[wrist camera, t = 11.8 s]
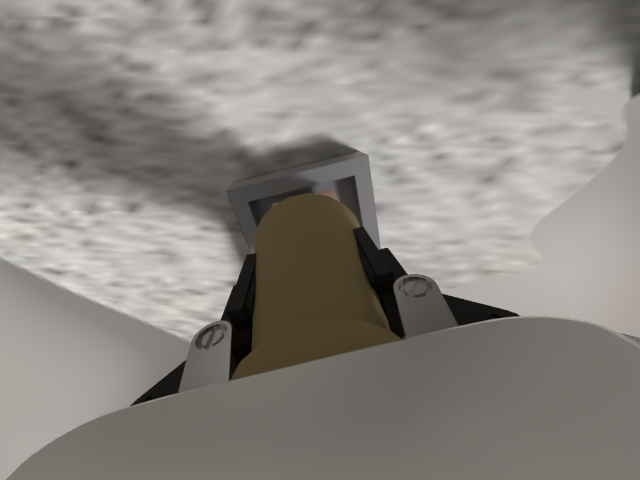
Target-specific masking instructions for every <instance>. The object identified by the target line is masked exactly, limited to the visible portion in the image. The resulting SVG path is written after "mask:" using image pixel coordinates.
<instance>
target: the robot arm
mask: <svg viewBox="0 0 640 480" xmlns="http://www.w3.org/2000/svg"><path fill="white" fill-rule="evenodd" d="M353 232H354V234H355V237H356V241H357V247H358V253H359V256H360V258H361V261H362V263H363V266H364V268H365V271H366V273H367V276H368V278H369V281H370V283H371V286H372V288H374V289H375V290H376V292H377V294H378V296H379V298H380V300H381V303H382V306H383V308H384V311H385V314H386V317H387V320H388V324H389V327H390V331H392V332H393V333H395V334H396V335H397V336H398V337H400V338H401V339H400V340H396V341H392V342H387V343H383V344H379V345H375V346H370V347H366V348H362V349H358V350H354V351H350V352H346V353H342V354H338V355H334V356H330V357H325V358H321V359H317V360H313V361H309V362H305V363H301V364H297V365H293V366H288V367H284V368H280V369H275V370H271V371H267V372H262V373H258V374H254V375H250V376H246V377H242V378H238V379H234V380H231V378H232V376H233V374H234V373H235V371H236V369H237V367H238V365H239V363H240V362H241V361H242V360H243V359H244V358H245V357H246V356H247V355H248V354H250V353H251V352H252V322H253V309H254V299H255V289H256V268H255V265H256V253H253V254H249V255H247V256H246V259H245V261H244V264H243V267H242V270H241V273H240V275H239V278H238V281H237V284H236V285H234V287H233V289H232V291H231V294H230V297H229V299H228V302H227V305H226V307H225V310H224V313H223V315H222V318H221V321H216V322H213V323H211V324H209V325H207V326H205V327H204V328H202V329H201V330H200V331H199V332H198V333H197V334H196V335H195V336H194V338H193V339H192V341H191V344H190V347H189V352H188V356H187V359H186V360H185V361H184V362H183V363H182V364H181V365H179V366H178V367H177V368H176V369H174V370H173V371H172V372H170V373H169V374H168V375H167V376H166V377H164V378H163V379H162V380H161V381H159V382H158V383H157V384H156V385H154V386H153V387H152V388H151V389H149V390H148V391H147V392H146V393H144V394H143V395H142V396H141V397H140V398H138V399H137V400H136V401H135V402H134V403H133V404H132V405H131V406H129V407H125V408H122V409H119V410H117V411H114V412H111V413H108V414H105V415H103V416H100V417H98V418H96V419H94V420H92V421H89V422H87V423H85V424H83V425H80V426H78V427H77V428H75V429H73V430H72V431H69V432H68V433H66V434H64V435H62V436H60V437H59V438H57V439H55V440H54V441H53V442H51V443H49V444H47V445H46V446H44V447H43V448H42V449H40V450H39V451H37V452H36V453H34V454H33V455H32V456H31V457H29V458H28V459H27V460H26V461H24V462H23V463H22V464H21V465H20V466H19V467H18V468H17V469H16V470H15V471H14V472H13V473H12V474H11V475H10V476H9V477H8V478H7V479H6V480H640V338H638V337H634V336H630V335H626V334H621V333H618V332H616V331H614V330H611V329H609V328H606V327H604V326H601V325H598V324H594V323H591V322H587V321H582V320H577V319H570V318H562V317H549V316H519V315H518V314H516V313H513V312H510V311H507V310H503V309H500V308H496V307H492V306H488V305H484V304H480V303H476V302H472V301H468V300H464V299H461V298H457V297H453V296H448V295H445V294H442V293H441V291H440V289H439V287H438V285H437V284H436V282H435V281H434V280H433V279H431V278H430V277H427V276H424V275H419V274H409V275H408V274H407V273H406V272H405V270H404V269H403V268H402V266H401V265H400V263H399V262H398V261H397V259H396V258H395V257H394V255H393V254H392V253H391V251H390V250H389V249H388V248H384V249H380V250H379V249H378V248H377V246H376V245H375V243H374V242H373V240H372V239H371V237H370V236H369V234H368V233H367V231H366V230H365V228H364V227H359V228H355V229H353Z"/></svg>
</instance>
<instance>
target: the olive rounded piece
mask: <svg viewBox="0 0 640 480" xmlns="http://www.w3.org/2000/svg"><path fill="white" fill-rule="evenodd" d="M359 227H360V225H359V223H358V221H357V219H356V217H355V214H353V213H352V212H351V211H350V210H349V209H348V208H347V207H346V206H345V205H344V204H343V203H342V202H340V201H337V200H335V199H333V198H331V197H329V196H327V195H319V194H311V193H306V194H301V195H296V196H291V197H288V198H286V199H284V200H283V201H281V202H279V203H277V204H275V205H274V206H273V207H272V208H271V209H270V210H269V211H268V212H267V213H266V214H265V215H264V216H263V217H262V219H261V221H260V223H259V226H258V228H257V231H256V233H255V249H254V253H256V265H255V268H256V289H255V299H254V309H253V322H252V352H251V353H250V354H248V355H247V356H246V357H245V358H244V359H243V360H242V361H241V362H240V363H239V365H238V367H237V369H236V371H235V373H234V374H233V376H232V378H231V380H234V379H238V378H242V377H246V376H250V375H254V374H258V373H262V372H267V371H271V370H275V369H280V368H284V367H288V366H293V365H297V364H301V363H305V362H309V361H313V360H317V359H321V358H325V357H330V356H334V355H338V354H342V353H346V352H350V351H354V350H358V349H362V348H366V347H370V346H375V345H379V344H383V343H387V342H392V341H396V340H400V339H401V338H400V337H398V336H397V335H396V334H395V333H393V332H392V331H390V327H389V324H388V320H387V317H386V314H385V311H384V308H383V306H382V303H381V300H380V298H379V296H378V294H377V292H376V290H375V289H374V288H372V286H371V283H370V281H369V278H368V276H367V273H366V271H365V268H364V266H363V263H362V261H361V258H360V256H359V253H358V247H357V241H356V237H355V234H354V232H353V229H355V228H359Z"/></svg>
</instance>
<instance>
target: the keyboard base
mask: <svg viewBox="0 0 640 480" xmlns="http://www.w3.org/2000/svg"><path fill="white" fill-rule="evenodd" d="M330 189H334V191H335V193H336V195H337V197H338V198H339V200H340V202H342V203H343V204H344V205H345V206H346V207H347V208H348V209H349V210H350V211H351V212H352V213H353V214H355V217H356V219H357V221H358V223H359V225H360V227H364V228H365V230H366V231H367V233H368V234H369V236H370V237H371V239H372V240H373V242H374V243H375V245H376V246H377V248H378V249H379V250H380V249H381V248H380V240H379V233H378V225H377V218H376V210H375V203H374V195H373V188H372V180H371V173H370V165H369V158H368V155H367V154H364V153H362V152H360V151H357V152H353V153H349V154H345V155H341V156H337V157H333V158H329V159H325V160H321V161H317V162H313V163H309V164H305V165H301V166H297V167H293V168H289V169H285V170H281V171H277V172H273V173H269V174H265V175H261V176H257V177H253V178H249V179H245V180H241V181H237V182H234V183H233V184H232V185H231V186H230V187H229V188H228V189H227V190H226V192H227V194H228V197H229V199H230V201H231V204H232V206H233V209H234V211H235V214H236V216H237V219H238V221H239V224H240V226H241V229H242V231H243V234H244V236H245V239H246V241H247V244H248V246H249V249H250V251H251V254H253V253H254V249H255V233H256V231H257V228H258V226H259V223H260V221H261V219H262V217H263V216H264V215H265V214H266V213H267V212H268V211H269V210H270V209H271V208H272V204H273V203H278V202H281V201H283V200H284V199H286V198H288V197H291V196H296V195H301V194H306V193H311V194H314V193H318V192H322V191H326V190H330Z"/></svg>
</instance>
